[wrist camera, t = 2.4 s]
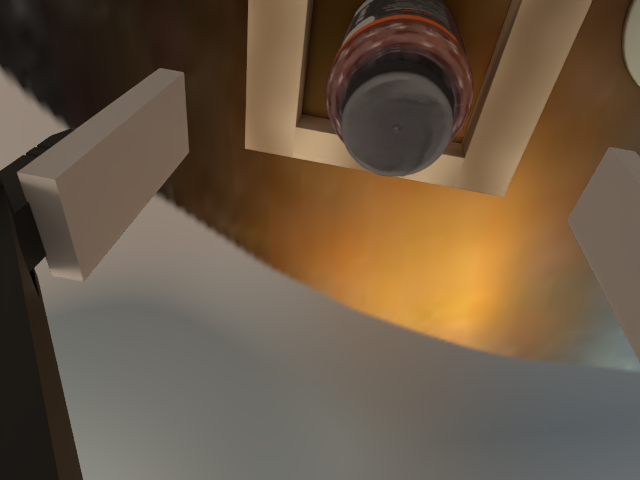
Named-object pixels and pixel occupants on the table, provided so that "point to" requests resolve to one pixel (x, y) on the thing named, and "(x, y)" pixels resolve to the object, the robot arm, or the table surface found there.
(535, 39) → the oak holder
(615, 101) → the table surface
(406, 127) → the supplement bottle
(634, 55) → the cream flat disc
